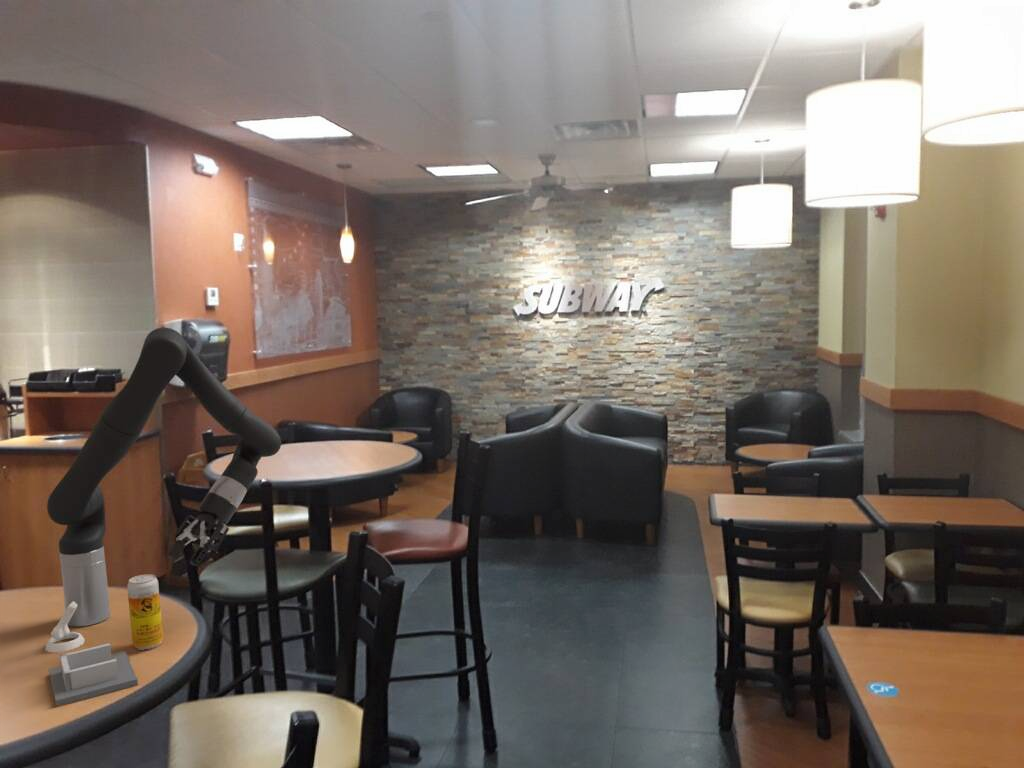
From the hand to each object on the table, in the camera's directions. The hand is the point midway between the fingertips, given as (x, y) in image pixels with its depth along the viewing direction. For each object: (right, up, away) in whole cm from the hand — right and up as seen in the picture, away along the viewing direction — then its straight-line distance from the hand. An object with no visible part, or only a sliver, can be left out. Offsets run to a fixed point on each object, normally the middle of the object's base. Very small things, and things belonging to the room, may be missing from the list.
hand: (182, 561), depth 185 cm
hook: (-24, -18, -4) cm, 30 cm away
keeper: (-9, -19, -21) cm, 30 cm away
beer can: (-5, -17, -6) cm, 19 cm away
